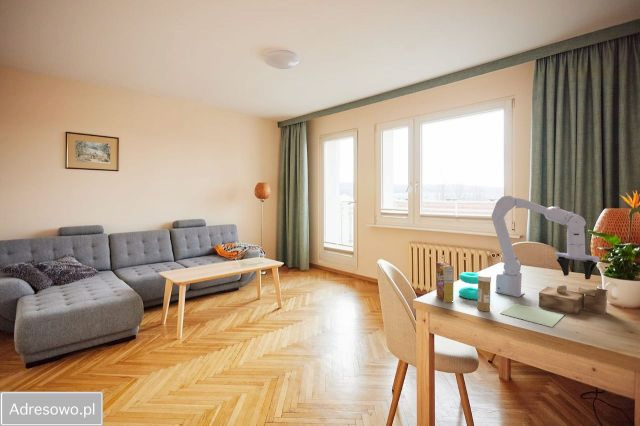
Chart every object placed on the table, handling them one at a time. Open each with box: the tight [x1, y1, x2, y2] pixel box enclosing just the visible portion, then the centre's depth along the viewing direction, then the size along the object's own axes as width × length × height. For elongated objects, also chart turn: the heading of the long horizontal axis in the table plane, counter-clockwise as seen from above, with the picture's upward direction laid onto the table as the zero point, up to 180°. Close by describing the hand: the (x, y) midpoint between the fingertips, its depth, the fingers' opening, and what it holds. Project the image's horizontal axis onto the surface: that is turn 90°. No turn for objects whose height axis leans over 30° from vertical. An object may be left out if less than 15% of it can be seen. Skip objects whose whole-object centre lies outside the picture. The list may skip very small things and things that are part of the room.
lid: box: [538, 283, 585, 303], centre depth 124 cm, size 12×12×4 cm
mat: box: [499, 303, 565, 328], centre depth 116 cm, size 16×16×1 cm
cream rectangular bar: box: [577, 286, 608, 298], centre depth 120 cm, size 8×2×2 cm, turn 41°
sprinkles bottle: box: [476, 273, 492, 312], centre depth 121 cm, size 5×5×14 cm
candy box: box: [436, 261, 455, 303], centre depth 133 cm, size 9×4×15 cm, turn 179°
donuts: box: [458, 271, 480, 301], centre depth 137 cm, size 10×10×10 cm
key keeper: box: [583, 287, 608, 315], centre depth 120 cm, size 6×4×8 cm, turn 41°
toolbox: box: [538, 295, 585, 316], centre depth 124 cm, size 12×12×4 cm
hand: (576, 277), depth 128 cm, fingers open, 7 cm apart
